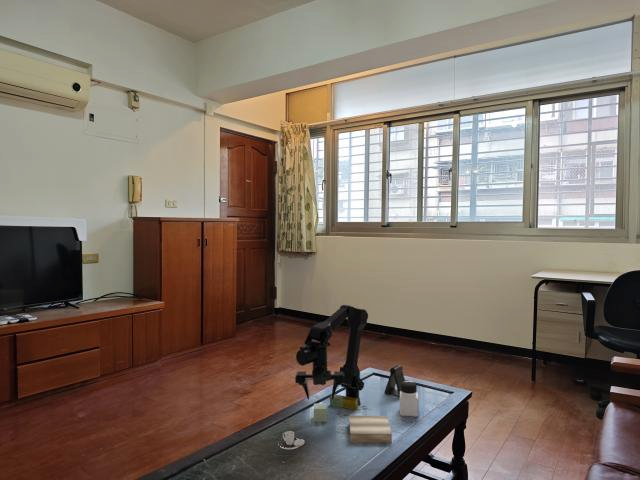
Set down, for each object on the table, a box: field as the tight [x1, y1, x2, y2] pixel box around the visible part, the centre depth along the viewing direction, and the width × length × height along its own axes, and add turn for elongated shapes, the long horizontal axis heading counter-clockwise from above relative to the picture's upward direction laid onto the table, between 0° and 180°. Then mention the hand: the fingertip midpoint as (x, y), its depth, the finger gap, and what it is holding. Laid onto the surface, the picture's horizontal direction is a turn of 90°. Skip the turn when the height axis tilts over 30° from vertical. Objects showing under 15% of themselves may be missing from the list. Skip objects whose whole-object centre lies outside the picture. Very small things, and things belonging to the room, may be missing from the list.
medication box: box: [329, 393, 359, 411], centre depth 174 cm, size 12×3×4 cm, turn 60°
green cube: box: [312, 403, 328, 423], centre depth 163 cm, size 5×5×5 cm
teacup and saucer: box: [278, 430, 305, 450], centre depth 144 cm, size 9×8×4 cm
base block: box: [348, 415, 393, 443], centre depth 151 cm, size 14×14×3 cm
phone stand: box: [384, 364, 406, 398], centre depth 188 cm, size 9×6×12 cm, turn 50°
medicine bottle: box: [399, 380, 419, 418], centre depth 168 cm, size 7×7×12 cm
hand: (320, 399), depth 163 cm, fingers open, 9 cm apart
